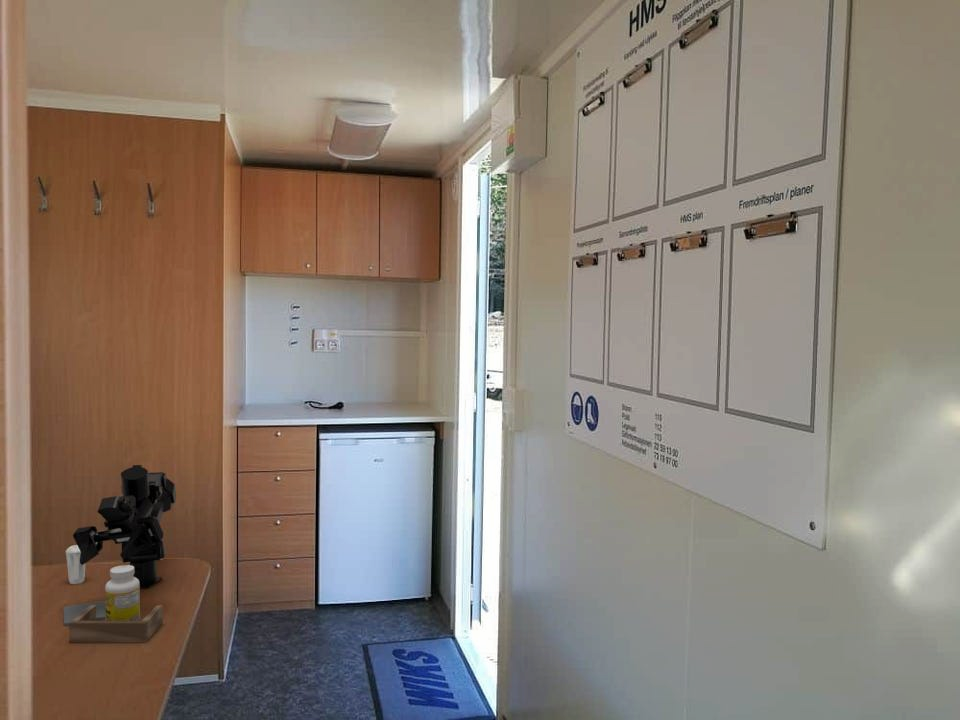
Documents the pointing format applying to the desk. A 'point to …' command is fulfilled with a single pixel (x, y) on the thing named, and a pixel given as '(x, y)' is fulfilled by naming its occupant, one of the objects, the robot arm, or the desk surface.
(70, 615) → the charcoal mat
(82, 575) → the milkshake
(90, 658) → the desk surface
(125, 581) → the supplement bottle
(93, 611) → the frame
